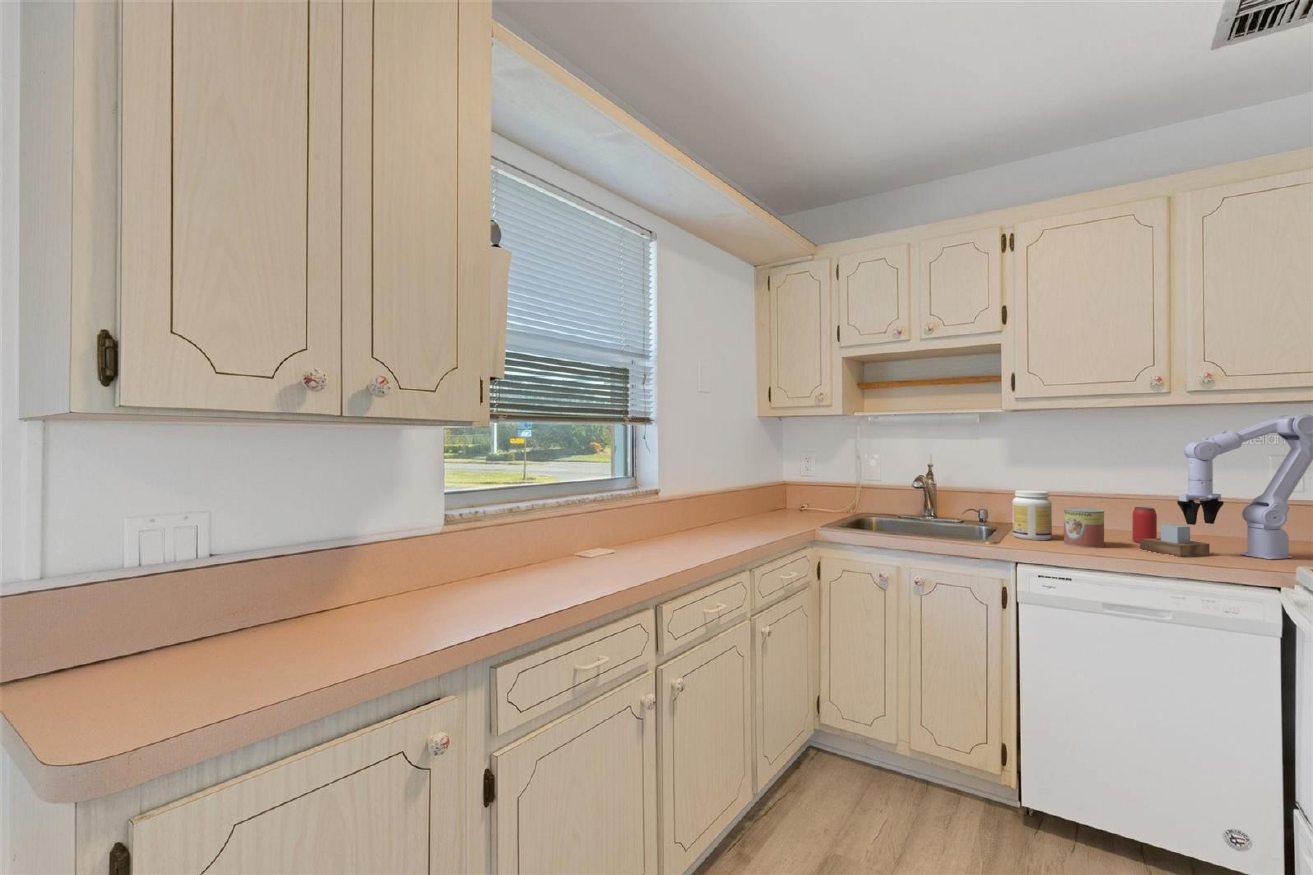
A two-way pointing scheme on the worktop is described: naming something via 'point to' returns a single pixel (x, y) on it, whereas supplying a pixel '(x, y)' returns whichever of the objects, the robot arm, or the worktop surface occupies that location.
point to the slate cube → (1175, 533)
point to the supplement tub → (1032, 515)
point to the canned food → (1084, 527)
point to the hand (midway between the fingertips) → (1200, 523)
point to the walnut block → (1175, 547)
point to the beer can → (1144, 523)
